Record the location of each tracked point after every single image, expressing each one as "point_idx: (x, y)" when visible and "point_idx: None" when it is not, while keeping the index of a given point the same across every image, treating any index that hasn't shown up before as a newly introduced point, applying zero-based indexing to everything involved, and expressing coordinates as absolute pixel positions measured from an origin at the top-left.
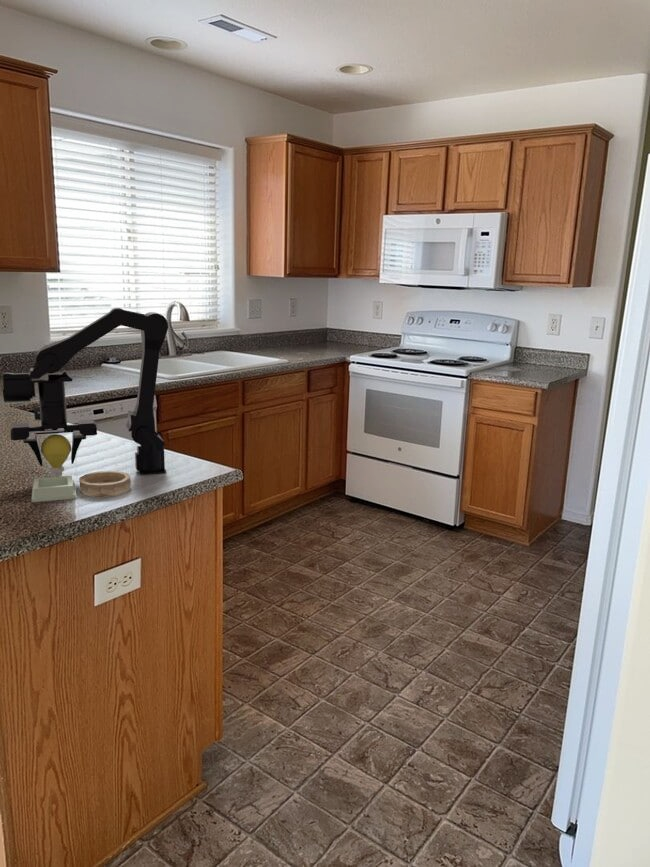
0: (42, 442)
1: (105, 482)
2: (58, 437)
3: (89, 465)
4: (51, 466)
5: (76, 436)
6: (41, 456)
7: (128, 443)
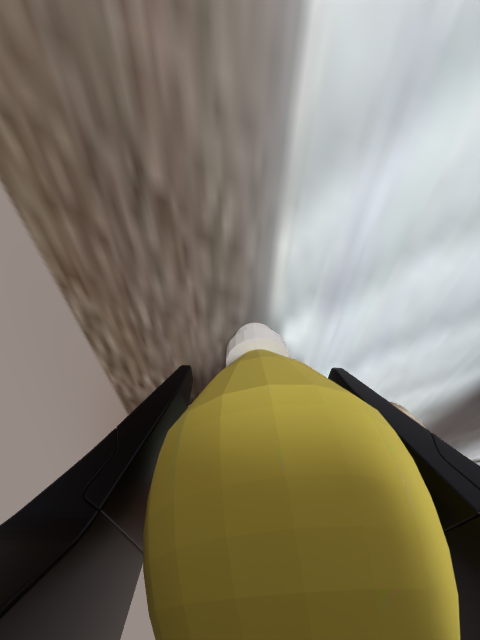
0: (143, 564)
1: None
2: None
3: (473, 122)
4: (233, 356)
5: None
6: (174, 403)
7: None
